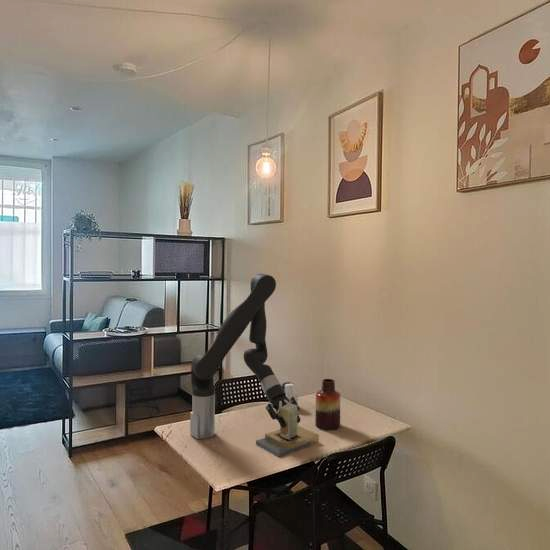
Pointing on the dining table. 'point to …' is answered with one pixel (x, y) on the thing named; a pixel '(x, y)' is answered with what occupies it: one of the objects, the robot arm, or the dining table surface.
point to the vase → (328, 406)
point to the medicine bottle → (290, 390)
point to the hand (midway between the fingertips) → (291, 424)
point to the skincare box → (289, 420)
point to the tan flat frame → (282, 447)
